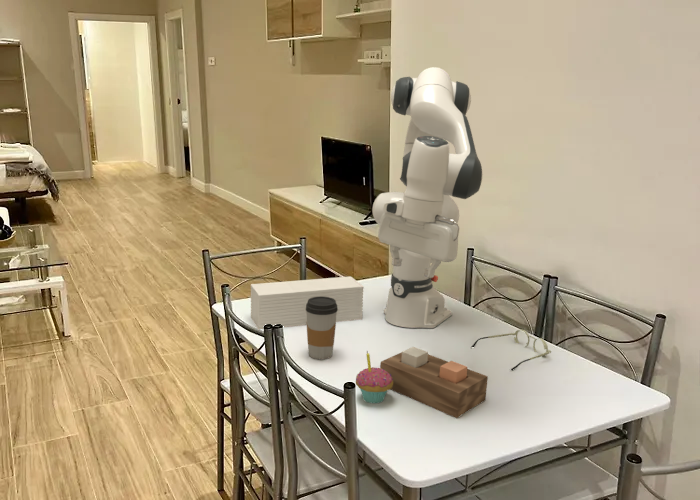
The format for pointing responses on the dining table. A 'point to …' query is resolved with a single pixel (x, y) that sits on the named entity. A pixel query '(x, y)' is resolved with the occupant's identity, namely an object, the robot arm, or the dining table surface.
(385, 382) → the cupcake
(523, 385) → the dining table surface
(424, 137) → the robot arm
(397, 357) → the walnut key panel
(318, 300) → the coffee cup
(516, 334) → the round eyeglasses
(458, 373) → the terracotta key
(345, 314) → the stack of papers
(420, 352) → the cream white cube
